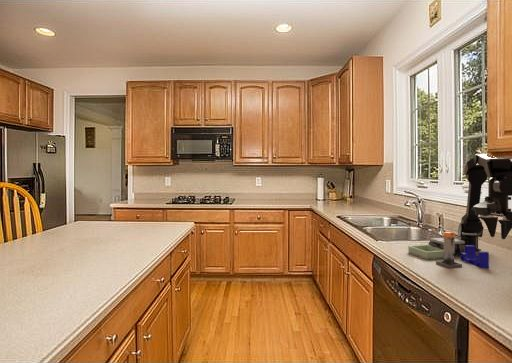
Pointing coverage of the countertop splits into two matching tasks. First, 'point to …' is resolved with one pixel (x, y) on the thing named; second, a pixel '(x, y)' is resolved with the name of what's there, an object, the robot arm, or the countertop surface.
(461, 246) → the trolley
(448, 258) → the pin
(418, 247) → the tray
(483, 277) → the countertop surface
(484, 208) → the robot arm
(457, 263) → the pin collar
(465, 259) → the cable clip
